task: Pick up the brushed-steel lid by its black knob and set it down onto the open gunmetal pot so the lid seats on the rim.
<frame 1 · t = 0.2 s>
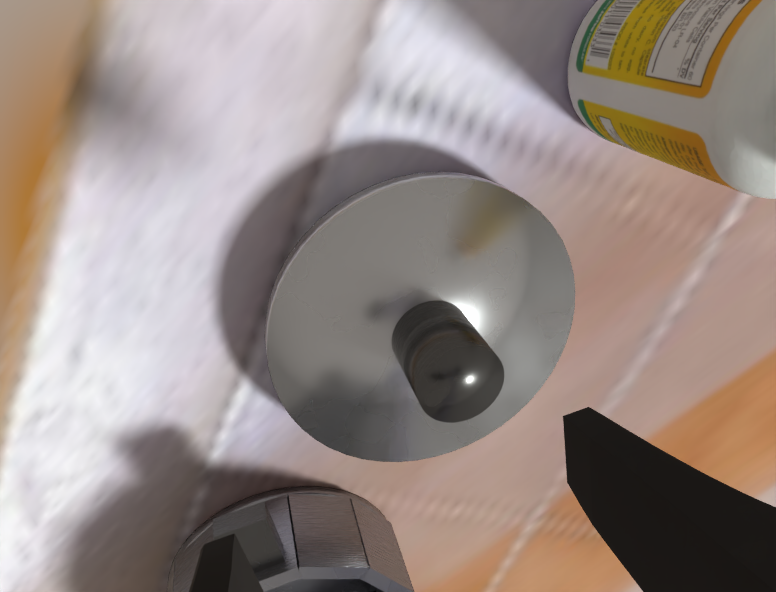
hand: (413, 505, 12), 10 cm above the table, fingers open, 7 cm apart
supplement bottle: (630, 60, 20), on the table
lid: (414, 312, 22), on the table
pot: (287, 572, 26), on the table
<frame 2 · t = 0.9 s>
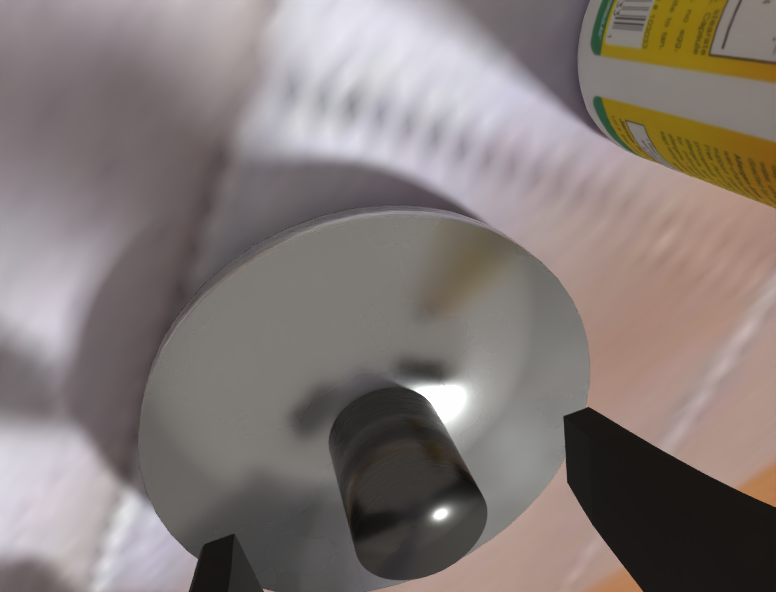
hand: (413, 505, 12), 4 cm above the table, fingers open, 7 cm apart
supplement bottle: (667, 40, 14), on the table
lid: (368, 392, 16), on the table
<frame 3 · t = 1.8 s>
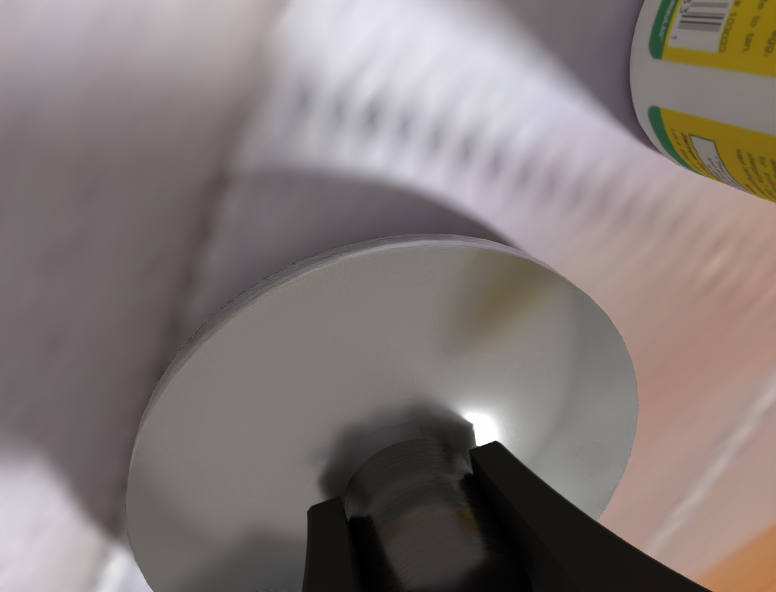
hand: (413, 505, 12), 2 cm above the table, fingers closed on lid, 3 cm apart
supplement bottle: (728, 41, 12), on the table
lid: (386, 436, 14), on the table, touching gripper
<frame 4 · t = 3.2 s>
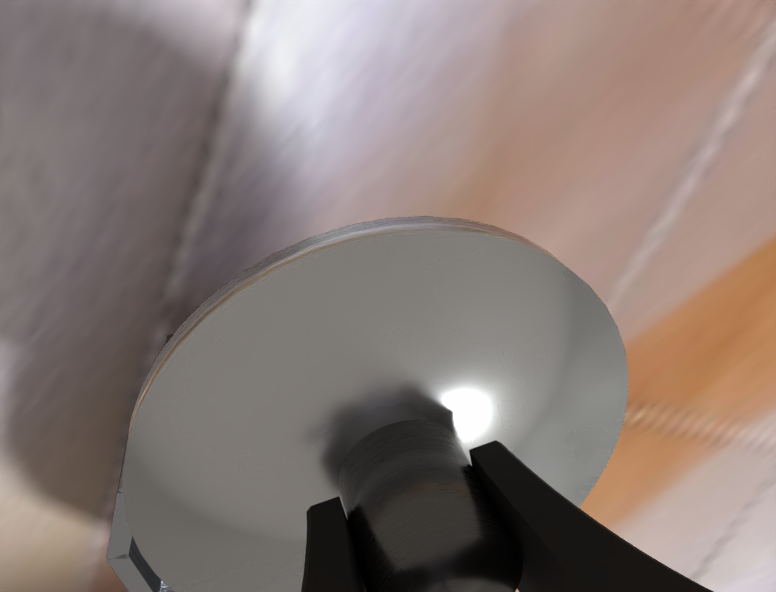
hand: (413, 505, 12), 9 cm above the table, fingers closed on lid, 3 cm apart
lid: (380, 416, 14), point 7 cm above the table, touching gripper
pot: (269, 446, 22), on the table
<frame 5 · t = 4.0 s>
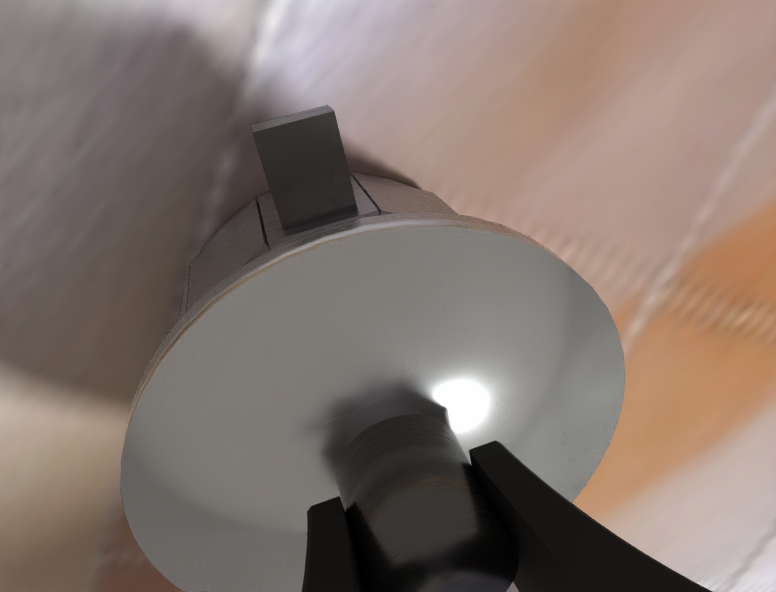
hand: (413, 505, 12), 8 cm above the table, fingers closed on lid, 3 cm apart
lid: (377, 410, 14), point 5 cm above the table, touching gripper
pot: (341, 323, 19), on the table
when the fingers open (6 cm above the table, at t = 4.6 s): lid stays where it is, resting on pot.
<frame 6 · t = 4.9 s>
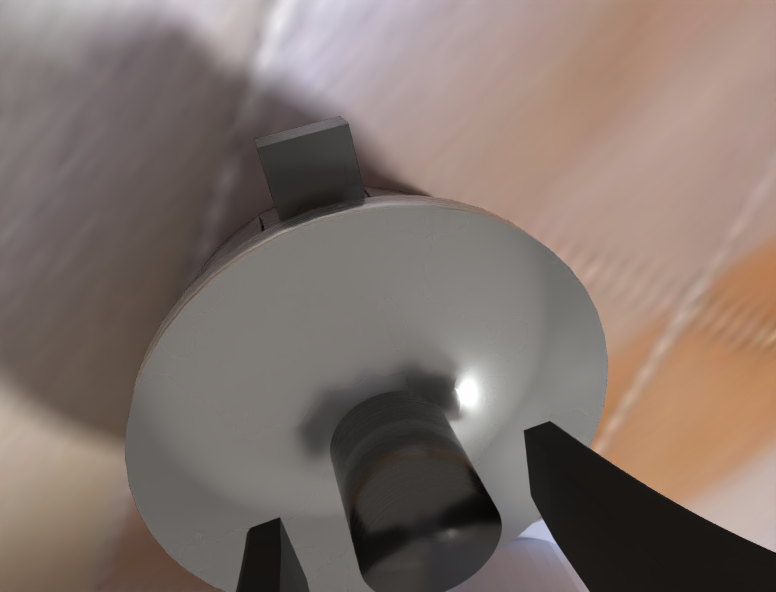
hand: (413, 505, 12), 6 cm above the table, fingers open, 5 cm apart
lid: (371, 395, 15), point 3 cm above the table, touching pot
pot: (351, 347, 18), on the table
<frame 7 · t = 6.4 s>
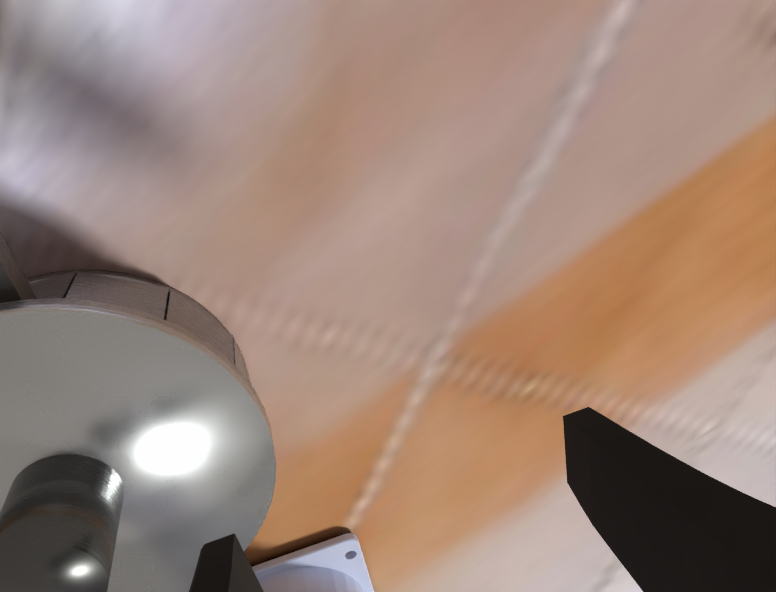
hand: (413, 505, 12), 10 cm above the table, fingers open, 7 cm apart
lid: (81, 451, 18), point 3 cm above the table, touching pot
pot: (102, 402, 20), on the table
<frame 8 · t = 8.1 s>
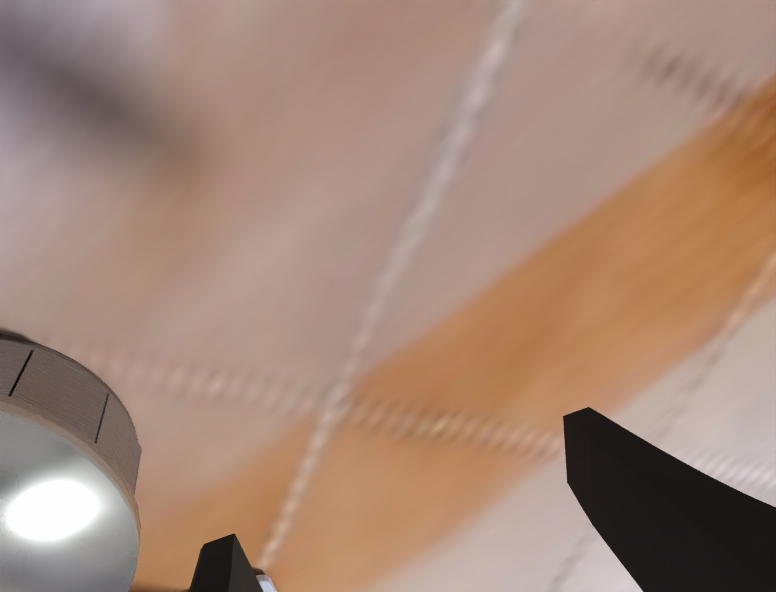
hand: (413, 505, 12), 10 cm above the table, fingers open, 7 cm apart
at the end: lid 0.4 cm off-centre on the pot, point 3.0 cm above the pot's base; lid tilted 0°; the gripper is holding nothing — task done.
